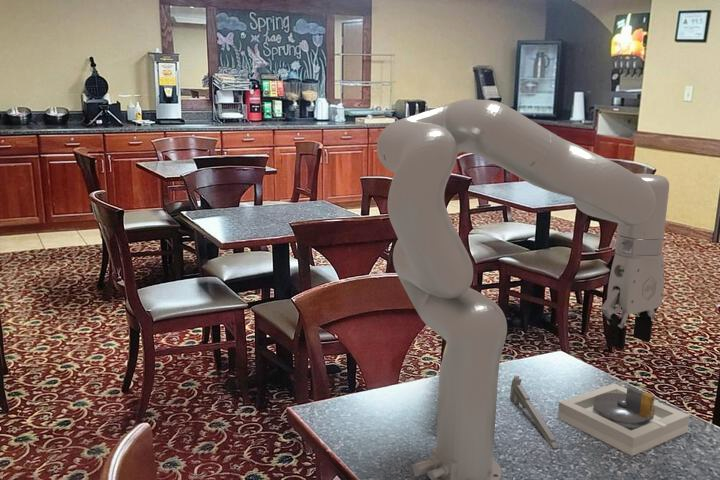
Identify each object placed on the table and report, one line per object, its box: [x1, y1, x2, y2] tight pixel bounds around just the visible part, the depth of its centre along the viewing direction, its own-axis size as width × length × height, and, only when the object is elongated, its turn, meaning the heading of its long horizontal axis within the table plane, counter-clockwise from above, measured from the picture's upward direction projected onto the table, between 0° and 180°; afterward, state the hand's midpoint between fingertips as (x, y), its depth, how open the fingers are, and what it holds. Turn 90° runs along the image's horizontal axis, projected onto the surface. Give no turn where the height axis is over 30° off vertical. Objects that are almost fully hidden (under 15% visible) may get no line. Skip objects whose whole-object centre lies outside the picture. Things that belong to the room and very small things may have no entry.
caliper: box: [509, 375, 559, 449], centre depth 135 cm, size 20×1×6 cm, turn 10°
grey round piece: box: [593, 386, 655, 431], centre depth 134 cm, size 11×11×6 cm
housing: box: [557, 382, 691, 457], centre depth 134 cm, size 17×17×4 cm
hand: (628, 342), depth 124 cm, fingers open, 6 cm apart
